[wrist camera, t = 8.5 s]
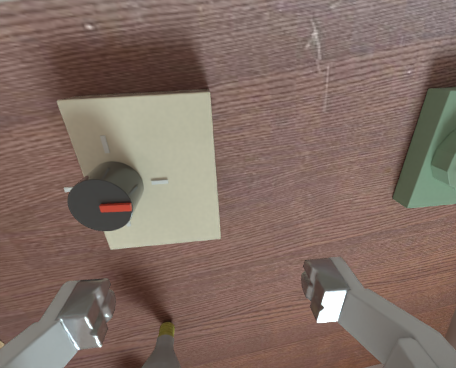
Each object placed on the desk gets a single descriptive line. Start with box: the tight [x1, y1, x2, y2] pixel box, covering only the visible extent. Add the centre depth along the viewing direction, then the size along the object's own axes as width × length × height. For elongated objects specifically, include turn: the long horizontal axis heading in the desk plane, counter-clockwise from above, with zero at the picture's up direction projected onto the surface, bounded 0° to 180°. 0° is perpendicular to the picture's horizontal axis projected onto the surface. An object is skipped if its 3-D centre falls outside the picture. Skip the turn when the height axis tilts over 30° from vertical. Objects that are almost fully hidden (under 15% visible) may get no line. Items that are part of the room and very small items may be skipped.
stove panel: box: [57, 89, 221, 249], centre depth 21 cm, size 14×13×3 cm
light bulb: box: [142, 322, 181, 368], centre depth 29 cm, size 6×6×10 cm
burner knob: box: [68, 161, 144, 231], centre depth 18 cm, size 4×4×4 cm
